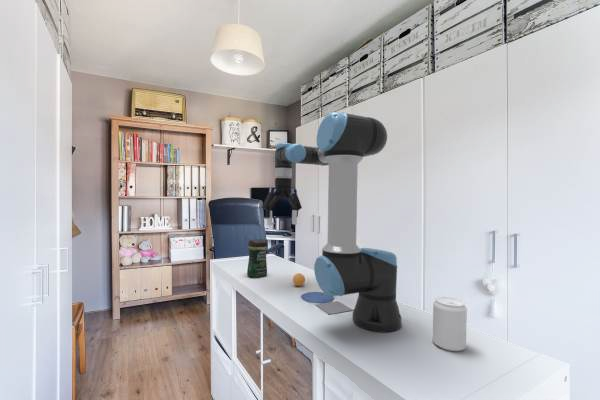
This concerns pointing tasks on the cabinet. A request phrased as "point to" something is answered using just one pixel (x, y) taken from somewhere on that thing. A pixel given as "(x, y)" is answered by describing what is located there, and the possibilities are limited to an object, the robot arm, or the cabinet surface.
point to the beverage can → (449, 323)
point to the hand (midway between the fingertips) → (282, 224)
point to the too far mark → (333, 307)
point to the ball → (298, 279)
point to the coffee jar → (257, 258)
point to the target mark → (317, 297)
